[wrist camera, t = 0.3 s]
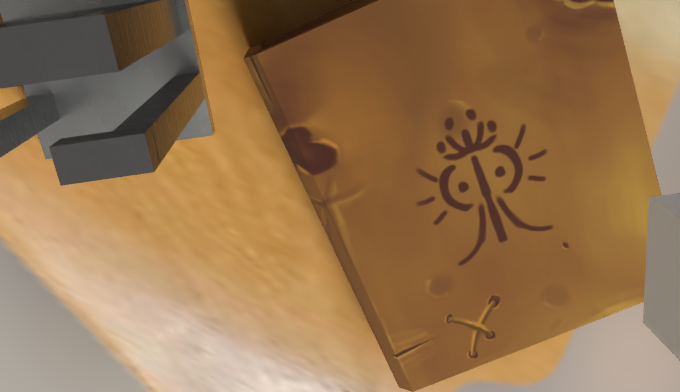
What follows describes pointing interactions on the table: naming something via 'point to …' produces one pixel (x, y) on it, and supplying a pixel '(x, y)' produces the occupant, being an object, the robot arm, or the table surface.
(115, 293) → the table surface
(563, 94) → the diary
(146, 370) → the table surface
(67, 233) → the table surface
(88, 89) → the grey slotted frame stand
